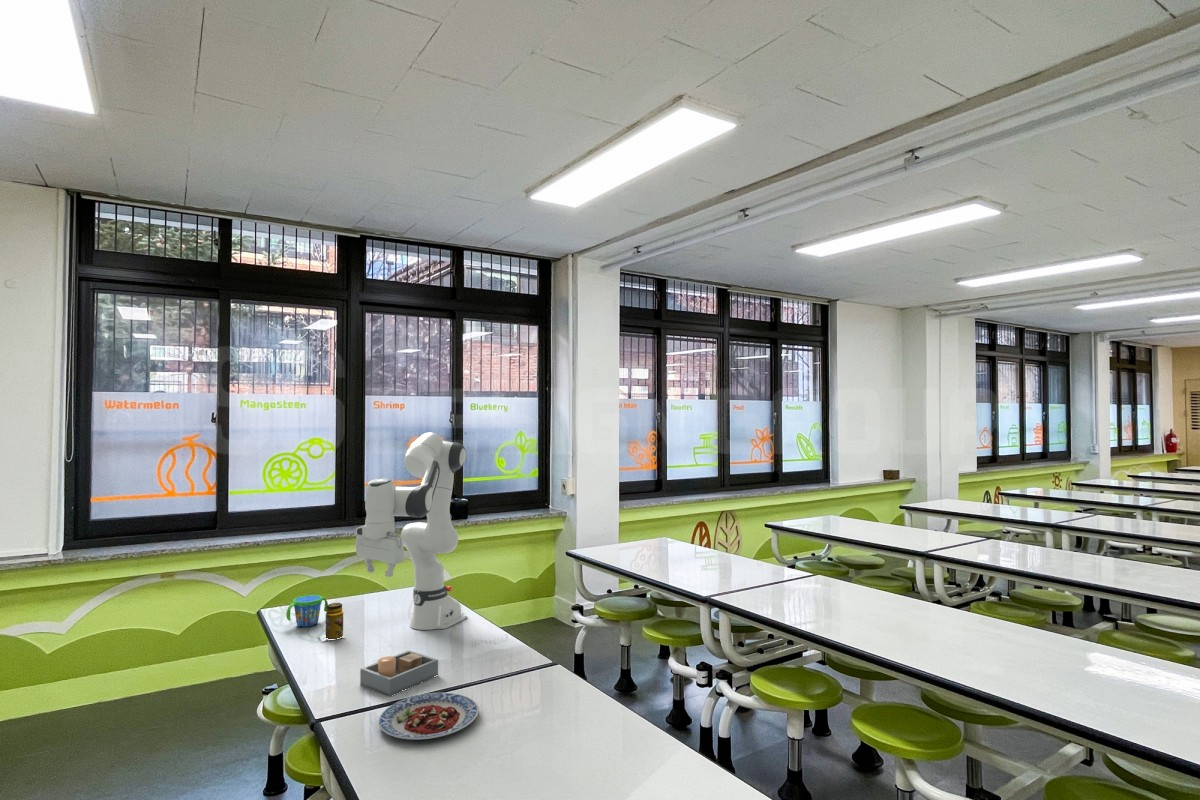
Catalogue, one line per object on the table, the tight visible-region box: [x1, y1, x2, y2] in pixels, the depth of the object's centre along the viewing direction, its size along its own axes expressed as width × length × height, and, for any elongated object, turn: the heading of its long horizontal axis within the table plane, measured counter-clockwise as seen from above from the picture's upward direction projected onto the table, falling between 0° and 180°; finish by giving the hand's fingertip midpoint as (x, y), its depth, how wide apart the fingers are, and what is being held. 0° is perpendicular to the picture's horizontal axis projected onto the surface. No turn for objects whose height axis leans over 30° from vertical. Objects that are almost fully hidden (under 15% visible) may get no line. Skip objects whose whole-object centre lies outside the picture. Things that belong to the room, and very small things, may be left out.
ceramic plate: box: [378, 692, 480, 741], centre depth 171 cm, size 26×26×3 cm
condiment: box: [325, 602, 344, 639], centre depth 235 cm, size 7×8×12 cm
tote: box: [359, 650, 439, 698], centre depth 197 cm, size 18×14×5 cm
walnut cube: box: [399, 653, 422, 674], centre depth 201 cm, size 5×5×5 cm
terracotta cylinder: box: [377, 655, 396, 678], centre depth 194 cm, size 5×5×7 cm
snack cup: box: [285, 594, 329, 628], centre depth 250 cm, size 16×10×10 cm
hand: (379, 574), depth 204 cm, fingers open, 8 cm apart
